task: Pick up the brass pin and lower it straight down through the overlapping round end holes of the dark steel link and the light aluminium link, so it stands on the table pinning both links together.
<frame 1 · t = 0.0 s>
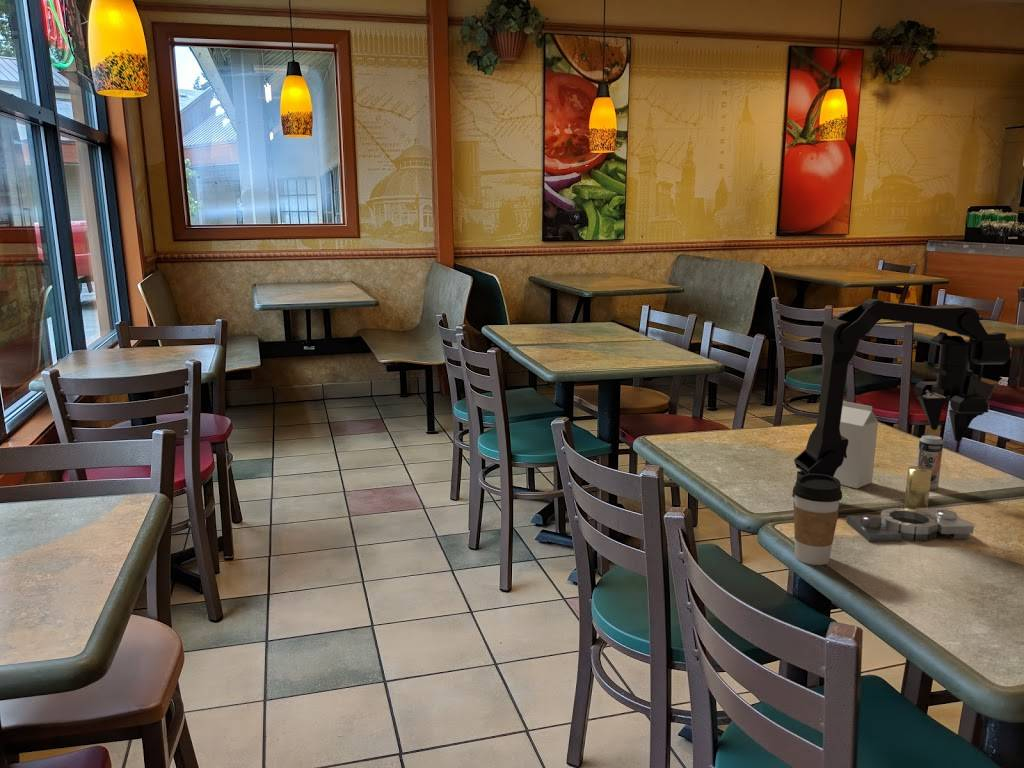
hand: (945, 435, 173), 15 cm above the table, tool pointing down, fingers open, 9 cm apart
lower link: (895, 524, 157), in the upper link
milk carton: (850, 483, 187), on the table
upper link: (907, 531, 158), on the table
beer can: (926, 488, 184), on the table
coffee cup: (811, 559, 145), on the table
pin: (915, 509, 170), on the table
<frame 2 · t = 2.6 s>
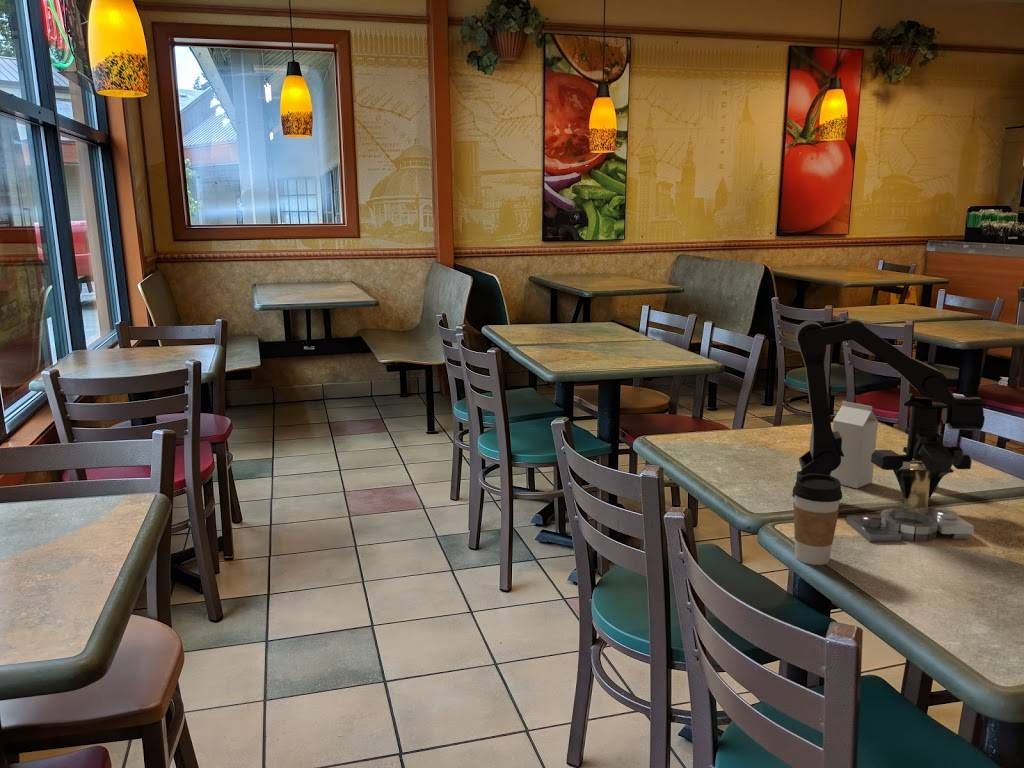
hand: (916, 498, 169), 3 cm above the table, tool pointing down, fingers closed on pin, 4 cm apart
pin: (915, 509, 170), on the table, touching gripper
everything else where it was.
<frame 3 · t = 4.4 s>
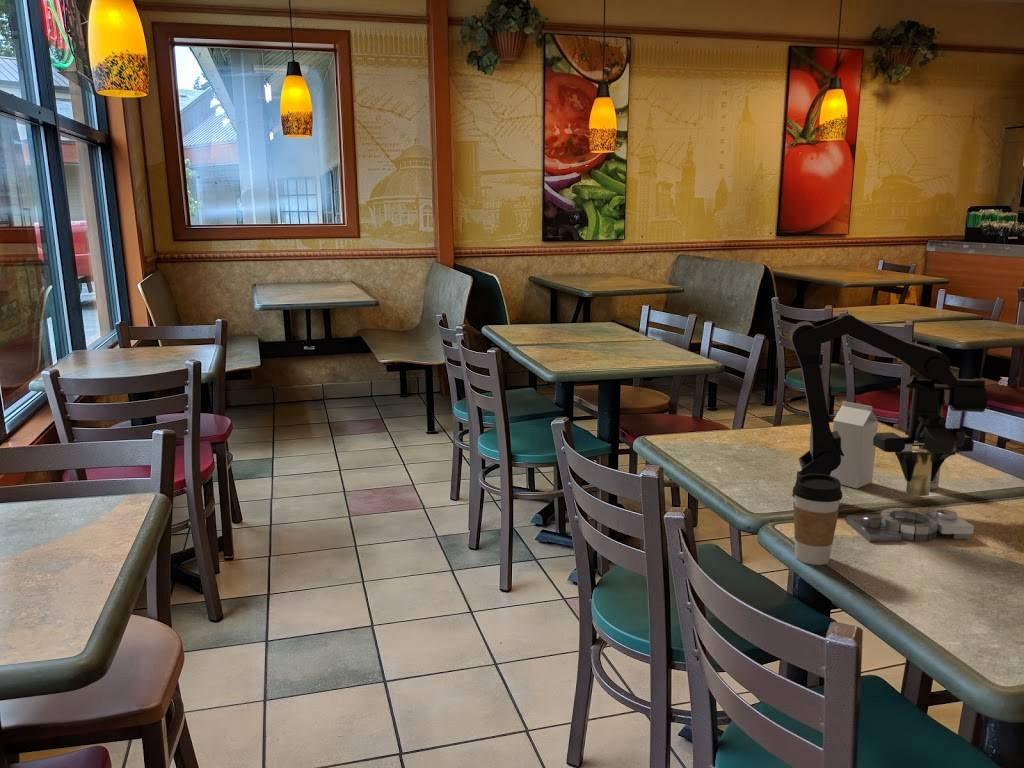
hand: (918, 481, 168), 6 cm above the table, tool pointing down, fingers closed on pin, 4 cm apart
pin: (917, 492, 169), point 4 cm above the table, touching gripper
everything else where it was.
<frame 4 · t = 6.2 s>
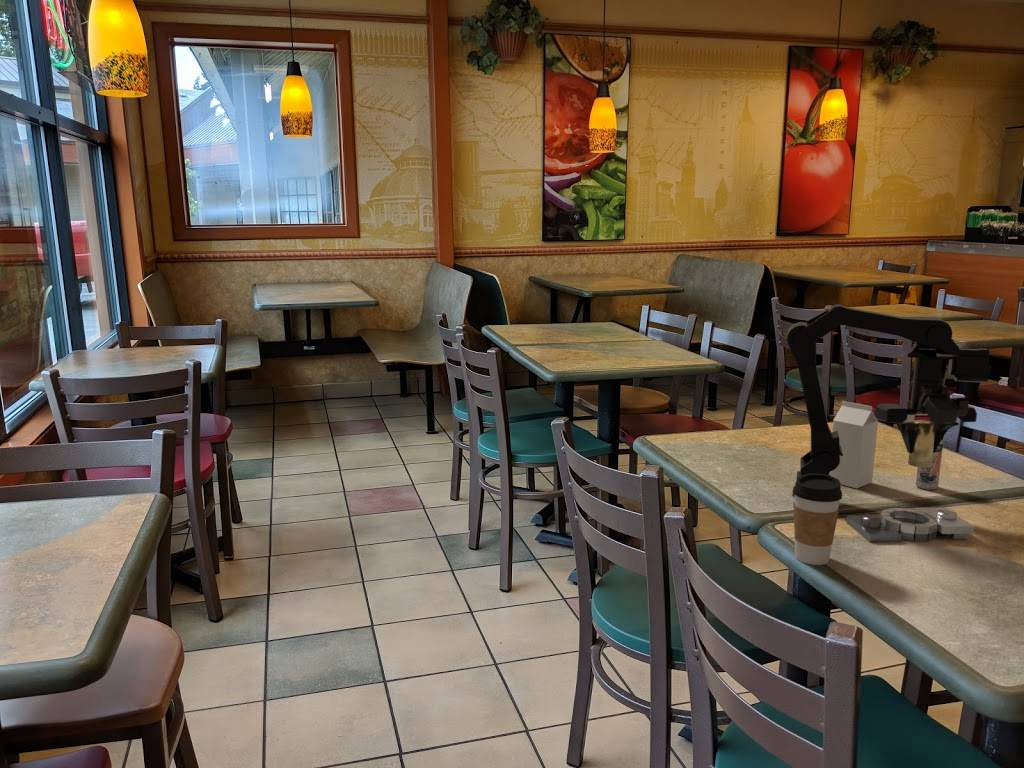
hand: (920, 452, 166), 13 cm above the table, tool pointing down, fingers closed on pin, 4 cm apart
pin: (919, 464, 166), point 10 cm above the table, touching gripper
everything else where it was.
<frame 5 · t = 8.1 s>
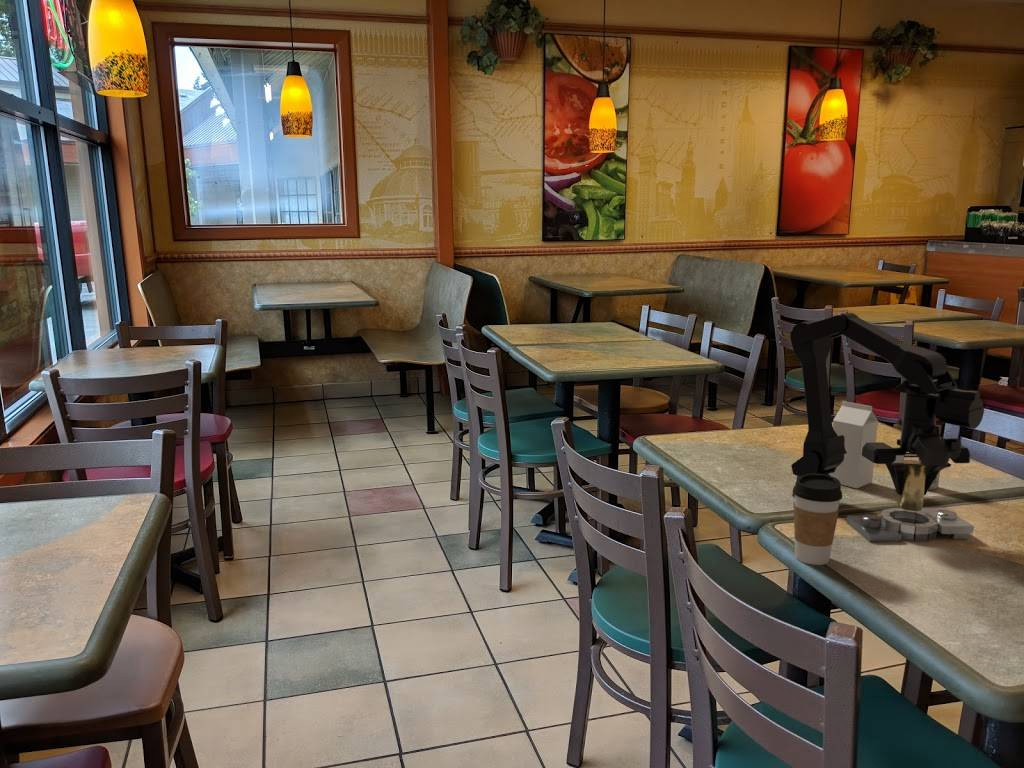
hand: (911, 494, 156), 8 cm above the table, tool pointing down, fingers closed on pin, 4 cm apart
pin: (909, 506, 157), point 5 cm above the table, touching gripper
everything else where it was.
when the fingers open (4 cm above the table, at t = 9.6 s): pin drops 1 cm, resting in lower link.
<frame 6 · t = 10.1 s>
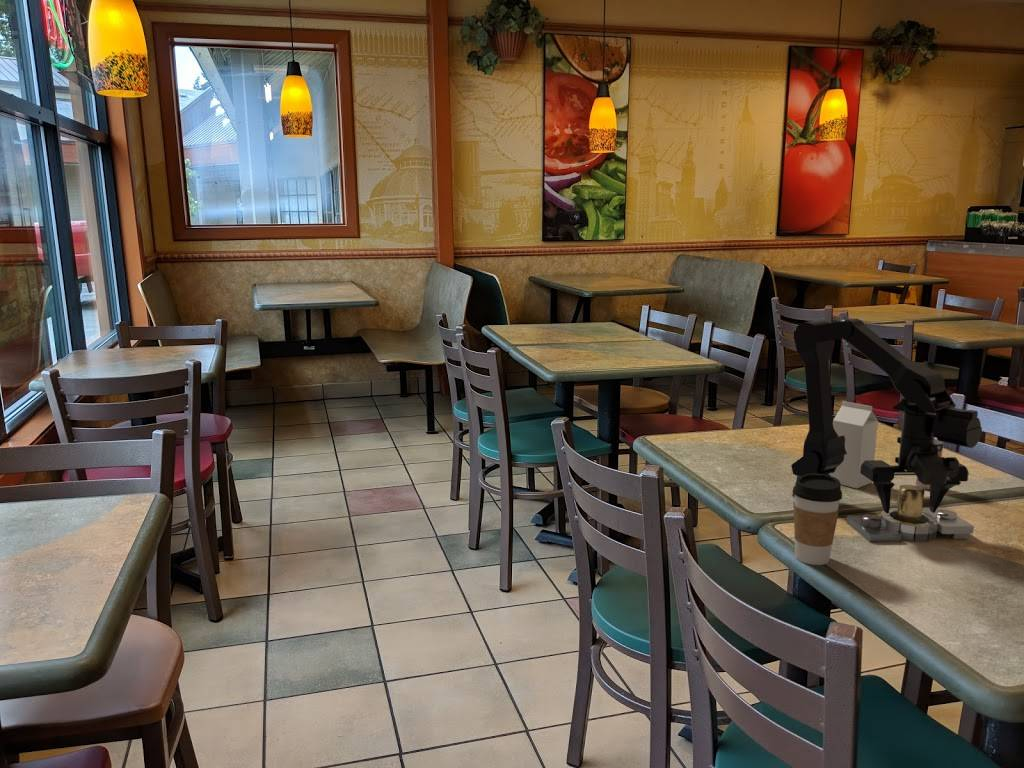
hand: (909, 512, 157), 4 cm above the table, tool pointing down, fingers open, 9 cm apart
pin: (907, 531, 158), resting in lower link
everything else where it was.
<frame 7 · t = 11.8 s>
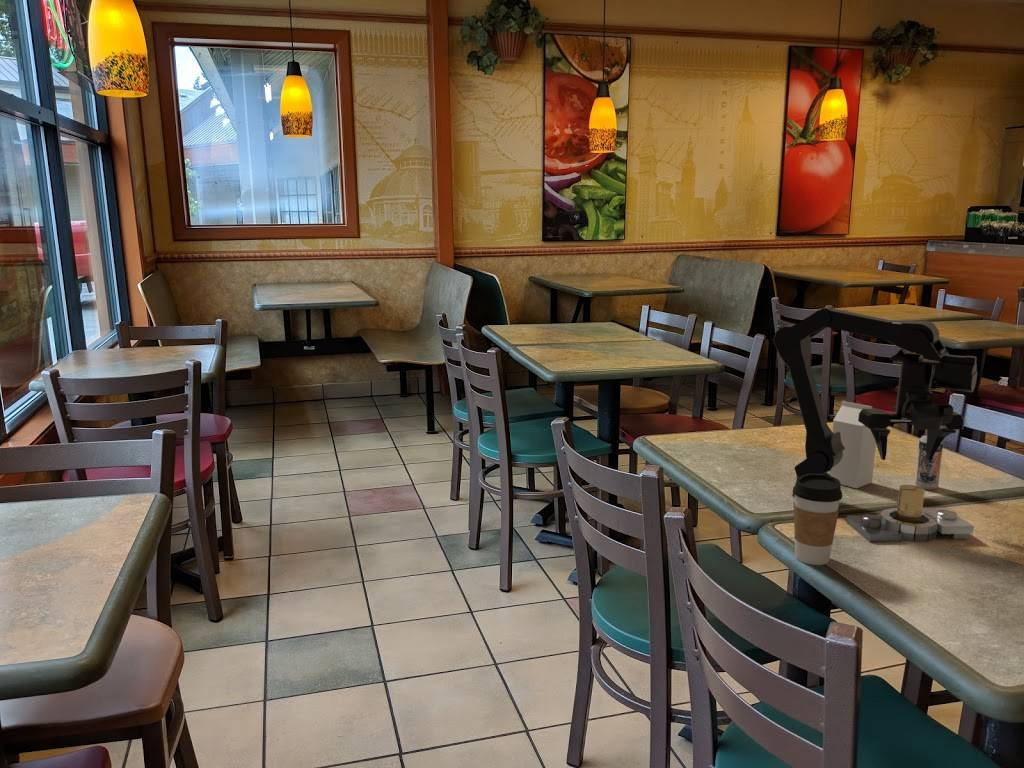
hand: (905, 459, 162), 13 cm above the table, tool pointing down, fingers open, 9 cm apart
nothing on the table moved.
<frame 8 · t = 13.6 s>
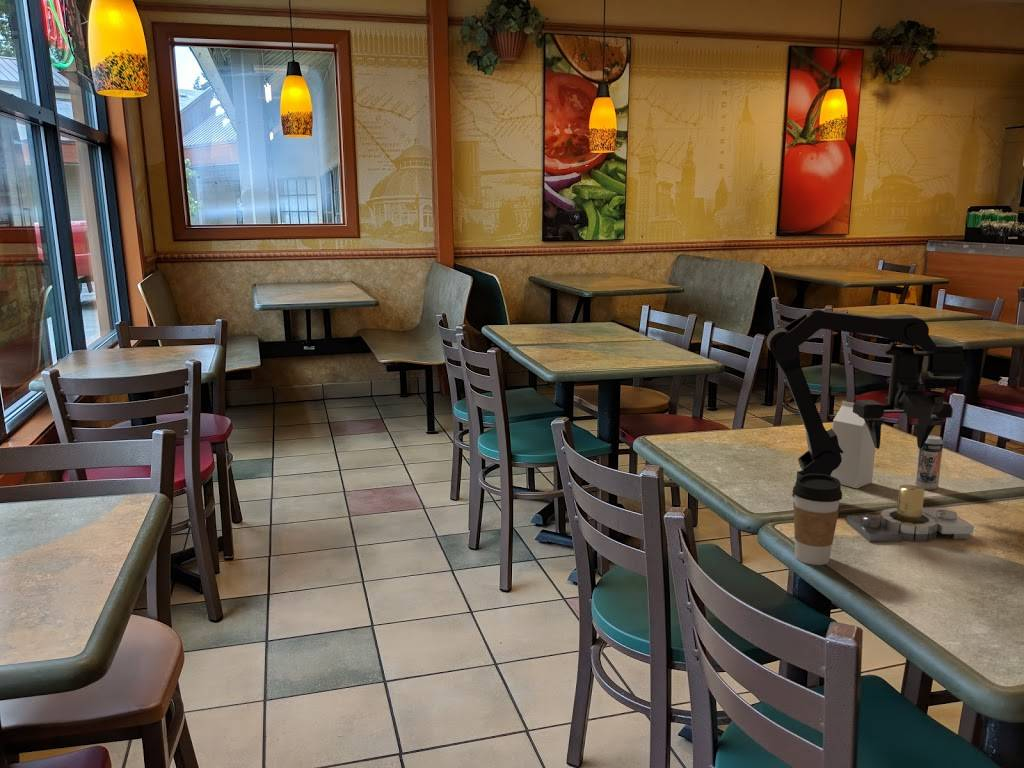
hand: (898, 448, 169), 13 cm above the table, tool pointing down, fingers open, 9 cm apart
nothing on the table moved.
at the end: pin 0.0 cm off-centre on the lower link, point 0.0 cm above the lower link's base; pin tilted 0°; the gripper is holding nothing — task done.
